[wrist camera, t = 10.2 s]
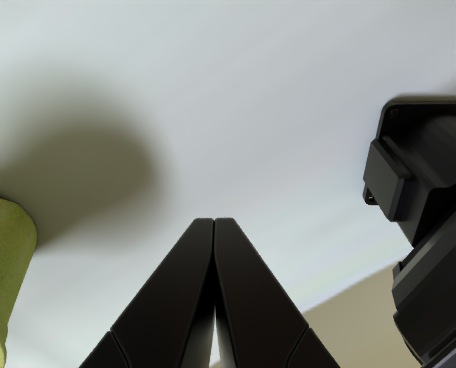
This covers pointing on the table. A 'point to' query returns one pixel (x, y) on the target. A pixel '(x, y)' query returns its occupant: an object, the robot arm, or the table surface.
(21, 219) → the plant pot
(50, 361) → the table surface
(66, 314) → the table surface
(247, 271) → the robot arm
